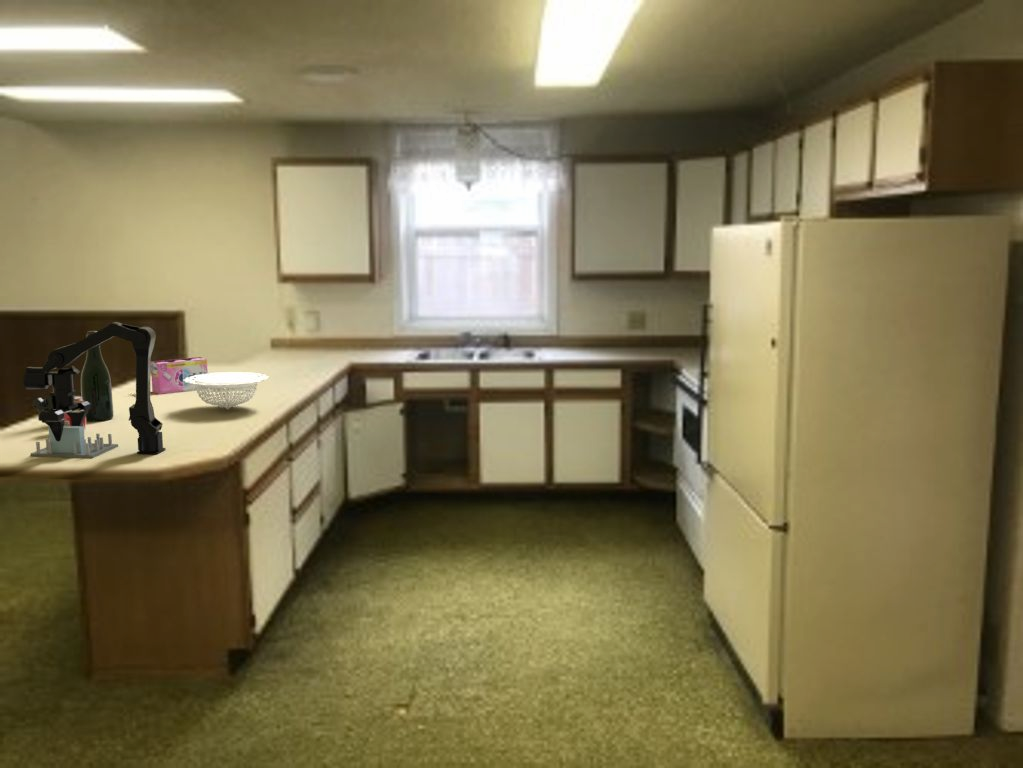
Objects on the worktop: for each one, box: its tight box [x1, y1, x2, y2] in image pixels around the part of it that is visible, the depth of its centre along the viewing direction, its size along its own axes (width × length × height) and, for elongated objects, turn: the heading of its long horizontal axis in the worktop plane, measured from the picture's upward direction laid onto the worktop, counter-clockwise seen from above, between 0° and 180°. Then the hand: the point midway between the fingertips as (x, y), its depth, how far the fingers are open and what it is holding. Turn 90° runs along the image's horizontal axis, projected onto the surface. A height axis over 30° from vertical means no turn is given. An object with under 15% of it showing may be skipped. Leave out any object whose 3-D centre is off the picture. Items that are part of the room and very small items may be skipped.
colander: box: [183, 371, 270, 410], centre depth 342 cm, size 32×32×13 cm
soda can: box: [62, 395, 87, 431], centre depth 302 cm, size 7×7×12 cm
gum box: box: [151, 356, 209, 395], centre depth 383 cm, size 24×8×14 cm, turn 136°
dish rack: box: [30, 433, 119, 459], centre depth 275 cm, size 20×15×4 cm
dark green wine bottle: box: [80, 330, 115, 422], centre depth 320 cm, size 10×10×33 cm
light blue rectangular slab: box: [48, 426, 86, 453], centre depth 270 cm, size 10×2×8 cm, turn 85°
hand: (67, 437), depth 270 cm, fingers open, 9 cm apart
